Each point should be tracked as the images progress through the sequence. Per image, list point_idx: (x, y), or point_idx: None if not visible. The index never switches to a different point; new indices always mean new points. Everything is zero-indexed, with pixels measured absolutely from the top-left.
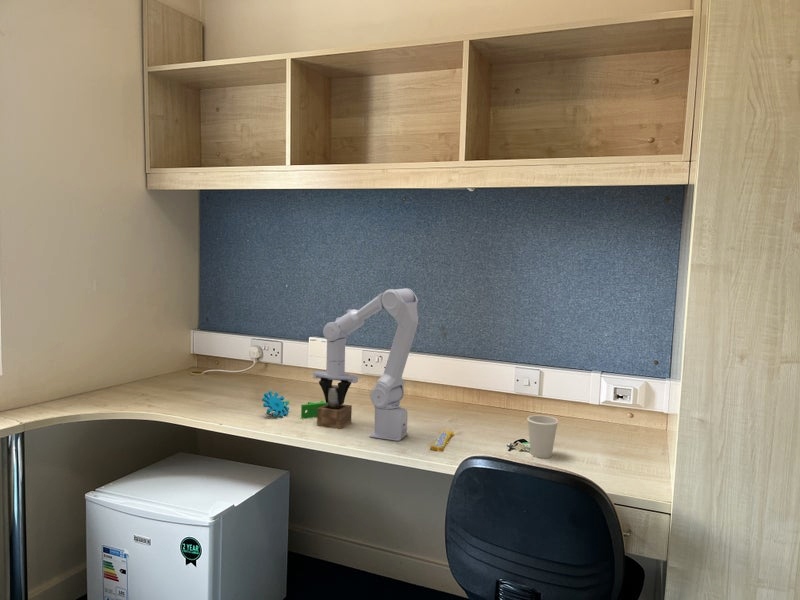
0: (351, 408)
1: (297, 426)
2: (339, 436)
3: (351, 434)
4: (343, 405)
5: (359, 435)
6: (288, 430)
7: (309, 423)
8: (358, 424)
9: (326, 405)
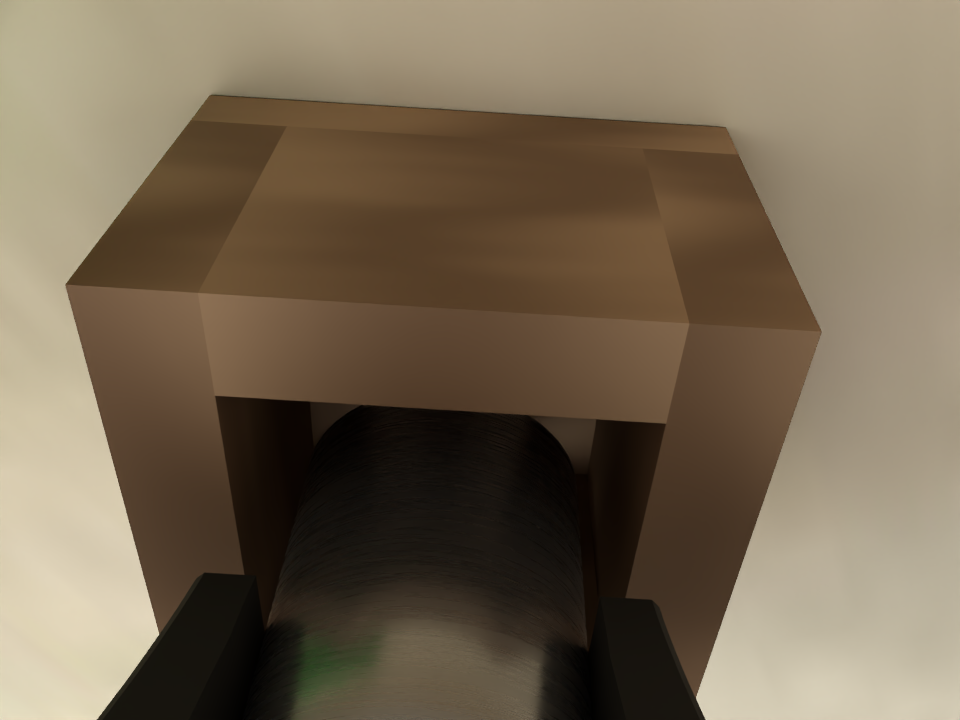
0: (795, 286)
1: (48, 550)
2: (710, 682)
3: (842, 608)
4: (592, 412)
5: (953, 611)
6: (76, 670)
7: (85, 408)
8: (892, 199)
9: (200, 527)
